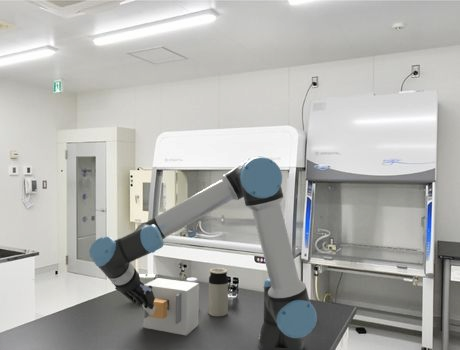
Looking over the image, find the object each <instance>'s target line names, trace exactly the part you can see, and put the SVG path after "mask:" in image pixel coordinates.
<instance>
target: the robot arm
mask: <svg viewBox="0 0 460 350" xmlns="http://www.w3.org/2000/svg"><path fill="white" fill-rule="evenodd" d="M221 178H222V179H221V180H219V181H217V182H215V183H213V184H211V185H210V186H208V187H206V188H204V189H202V190H201V191H199V192H196V193H195V194H194V195H192V196H189V197H188V198H186V199H185V200H183V201H181V202H180V203H178V204H176V205H174V206H172V207H171V208H169V209H167V210H165V211H163V212H162V213H160V214H158V215H156V216H155V217H153V218H151V219H149V220H148V221H146V222H145V221H144V222H143V223H140V224H139V225H138V226H137V227H136V228H135V230H134V231H133V232H131V233H129V234H126V235H124V236H122V237H120V238H117V239H113V238H112V237H110V236H101V237H99V238H97V239H96V240H95V241H94V242H93V243H92V244H91V246H90V248H89V252H88V254H89V257H90V258H91V260H92V261H93V262H94V264H95V265H96V266H97V267H98V268H99V269H100V270H101V271H102V273H103V274H105V276H106V277H107V279H109V280H110V282H111V284H112V285H114V287H115V288H114V289H115V290H116V291H118V292H119V293H121V294H122V295H123V296H124V297H125V298H127V299H128V300H129V301H131V302H132V303H133V304H138V306H141V307H142V308H143V310H144V309H145V310H146V311H147V313H148V314H149V315H153V314H154V312H155V309H156V307H155V306H154V304H153V302H154V300H155V297H154V294H153V292H152V286H149V287H148V286H147V287H146V286H144V284H143V283H142V282H141V281H140V276H139V274H140V273H139V272H138V271H137V270H136V268H135V266H134V265H133V264H132V262H134V261H135V260H138V259H140V258H143V257H145V256H147V255H149V254H152V253H156V251H158V250H160V249H162V248H163V247H164V244H165V243H164V240H165V239H166V238H167V237H169V236H171V235H172V234H174V233H176V232H178V231H180V230H181V229H183V228H185V227H186V226H188V225H190V224H192V223H194V222H195V221H197V220H199V219H201V218H203V217H204V216H207V215H208V214H210V213H212V212H213V211H216V210H217V209H219V208H220V207H222V206H225V205H226V204H228V203H229V202H231V201H233V200H235V201H239V200H242V199H243V200H244V204H245V207H246V208H248V209H250V210H251V211H252V215H253V219H254V223H255V226H256V232H257V234H258V239H259V242H260V243H259V244H260V246H261V251H262V254H263V258H264V263H265V266H266V270H267V274H268V278H266V279H265V280H264V283H263V292H264V293H263V322H262V323H263V324H262V326H261V328H260V332H259V334H258V341H257V345H258V348H259V349H260V350H304V340H303V338H304V337H306V336H307V335H309V334H310V333H311V332H312V331H313V329H314V328H315V327H316V324H317V321H318V316H317V315H318V314H317V311H316V308H315V307H314V305H313V304H312V303H311V301H310V297H309V293H308V289H307V285H306V283H305V282H304V281H302V280H300V279H299V278H300V277H299V274H298V270H297V267H296V263H295V258H294V255H293V250H292V247H291V246H292V245H291V243H290V242H291V241H290V238H289V235H288V229H287V226H286V223H285V218H284V215H283V211H282V206H281V202H282V201H283V199H284V193H283V188H282V183H283V175H282V171H281V168H280V167H279V165H278V164H277V163H276V162H275V161H274V160H272V159H271V158H268V157H265V156H254V157H252V158H247V159H245V160H243V161H242V162H240V163H239V164H238V165H237V166H236V167H234V168H232V169H231V170H230V171H227V173H225V174H223V175H222V177H221Z"/></svg>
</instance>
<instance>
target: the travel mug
mask: <svg viewBox="0 0 460 350" xmlns="http://www.w3.org/2000/svg"><path fill="white" fill-rule="evenodd" d="M228 271H229V270H228V269H227V268H223V267H214V268H210V269H209V273H210V275H209V277H208V314H209V315H210V316H211V317H218V318H219V317H224V316H227V315H228V313H229V310H228V308H229V307H228V306H229V305H228V304H229V303H228V302H229V301H228V300H229V277H228V275H227V274H228Z"/></svg>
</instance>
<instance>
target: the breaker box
mask: <svg viewBox="0 0 460 350" xmlns="http://www.w3.org/2000/svg"><path fill="white" fill-rule="evenodd" d="M144 286H146V287H147V286H148V287H149V286H152V292H153V294H154V297H155V298H156V299H163V300H167V301H169V306H168V307H167V316H166V317H165V318H164V319H160V318H154V317H149V314H148V313H147V311H146V310H145V309H144V308H143V325H142V326H143V328H144V329H148V330H149V329H150V330H155V331H160V332H165V333H170V334H174V335H175V334H176V335H181V336H188V335H189V334H191V332H192V331H193V330H195V329H196V328H197V327H198V326H199V321H200V320H199V312H200V311H199V310H200V309H199V308H200V283H199V282H197V283H193V282H186V280H183V281H182V280H178V279H177V280H175V279H168V278H161V277H158V278H157V279H155V280H153V281H151V282H149V283H147V284H145V285H144Z"/></svg>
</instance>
